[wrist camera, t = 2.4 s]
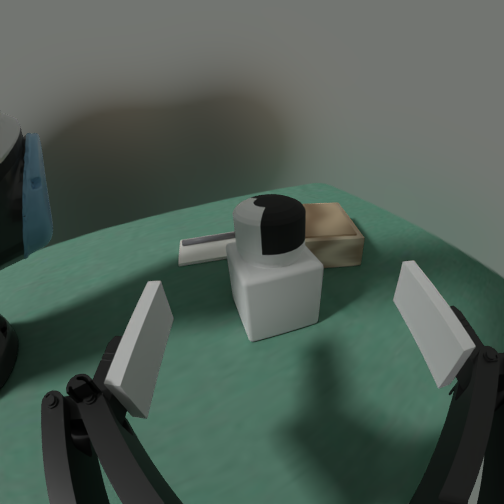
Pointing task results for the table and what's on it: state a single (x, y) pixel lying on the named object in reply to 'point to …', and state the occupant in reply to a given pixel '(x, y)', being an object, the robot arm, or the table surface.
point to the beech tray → (332, 235)
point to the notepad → (204, 248)
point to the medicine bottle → (273, 267)
